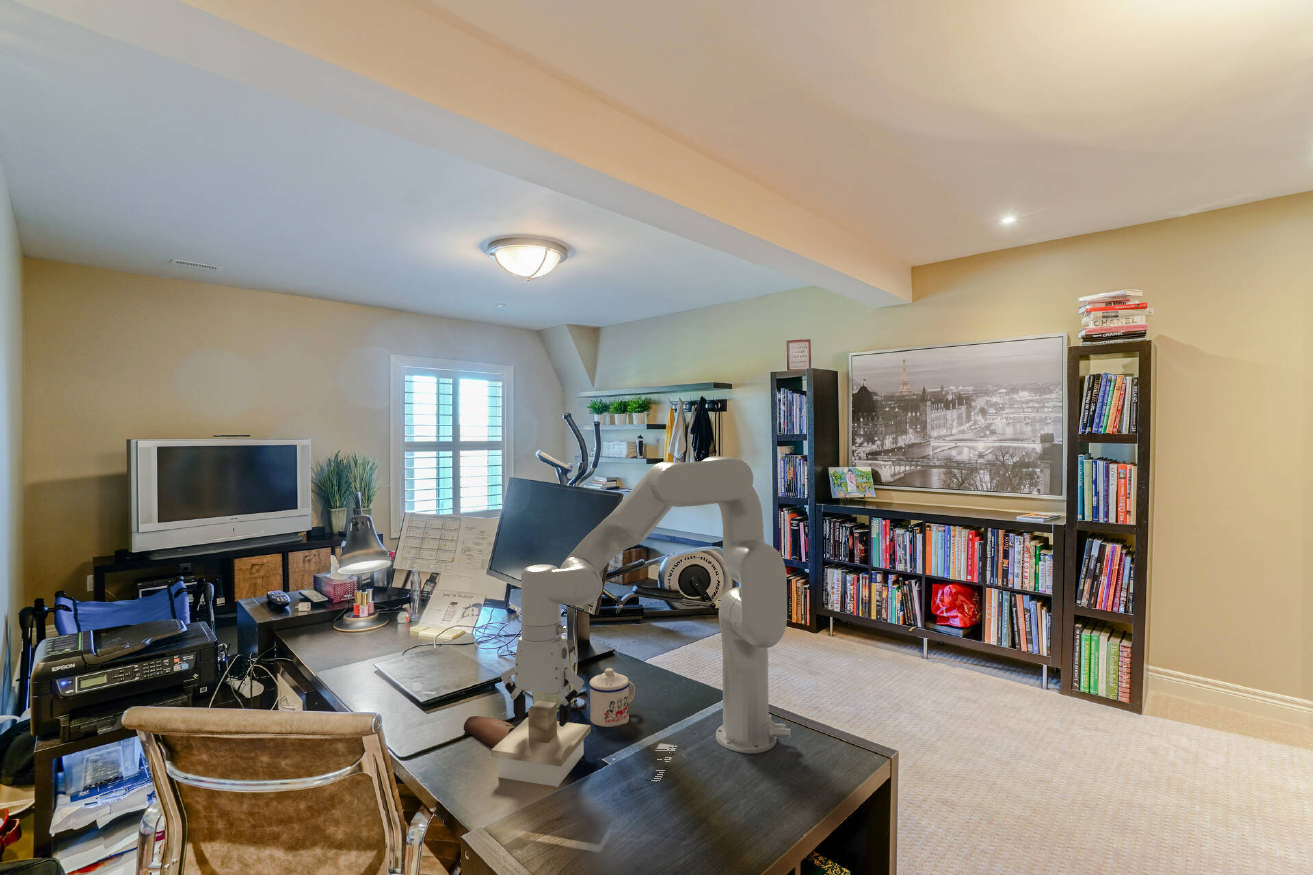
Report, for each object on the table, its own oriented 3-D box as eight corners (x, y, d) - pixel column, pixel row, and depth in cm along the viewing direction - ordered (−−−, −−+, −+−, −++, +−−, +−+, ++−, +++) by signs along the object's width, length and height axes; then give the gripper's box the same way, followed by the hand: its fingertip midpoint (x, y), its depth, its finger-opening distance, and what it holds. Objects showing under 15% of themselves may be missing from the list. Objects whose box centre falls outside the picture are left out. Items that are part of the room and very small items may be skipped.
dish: (583, 758, 124) (583, 732, 124) (557, 790, 112) (557, 762, 112) (529, 750, 127) (528, 725, 127) (498, 781, 116) (498, 754, 116)
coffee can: (527, 699, 152) (526, 642, 152) (567, 692, 156) (567, 636, 157) (538, 716, 143) (537, 654, 143) (581, 707, 147) (580, 648, 147)
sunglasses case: (542, 746, 128) (528, 724, 126) (517, 775, 124) (501, 752, 122) (497, 719, 141) (483, 698, 139) (472, 744, 137) (458, 723, 135)
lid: (590, 731, 124) (590, 695, 124) (560, 766, 111) (560, 726, 111) (527, 723, 128) (527, 688, 128) (491, 756, 115) (490, 717, 115)
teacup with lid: (607, 734, 134) (606, 680, 134) (581, 721, 140) (580, 669, 140) (647, 717, 142) (647, 665, 142) (621, 705, 148) (621, 656, 149)
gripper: (590, 628, 121) (591, 717, 121) (510, 621, 126) (511, 707, 126) (575, 640, 114) (576, 734, 114) (491, 633, 119) (491, 723, 118)
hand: (542, 720), depth 120 cm, fingers open, 9 cm apart
